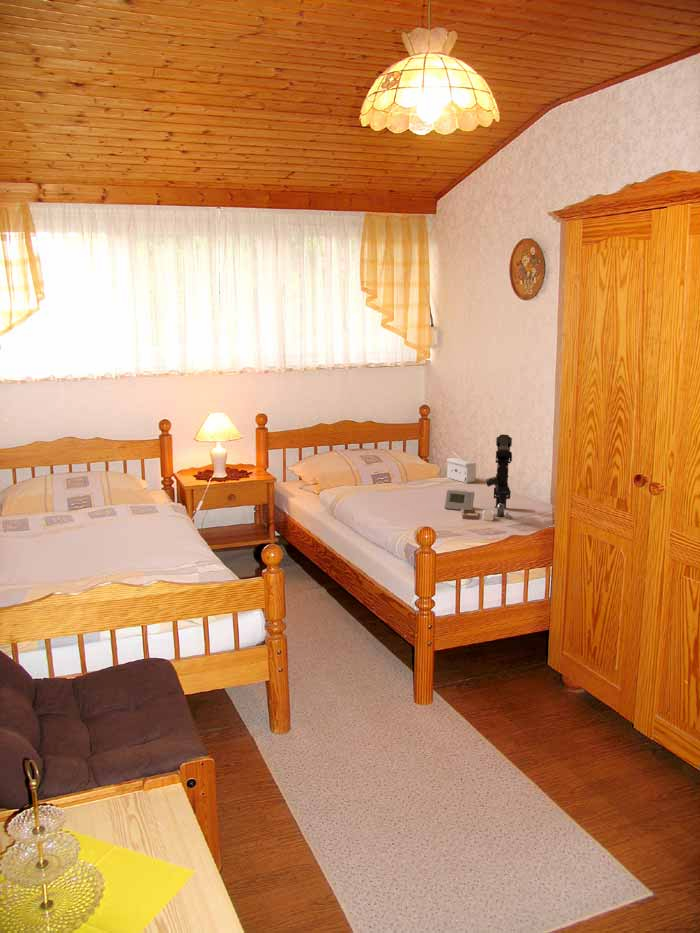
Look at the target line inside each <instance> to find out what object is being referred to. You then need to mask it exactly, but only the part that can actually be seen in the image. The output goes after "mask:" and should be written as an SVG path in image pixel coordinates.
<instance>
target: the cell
mask: <svg viewBox="0 0 700 933" xmlns="http://www.w3.org/2000/svg"><path fill="white" fill-rule="evenodd" d="M496 514H497V517H499V518H503V517H504V514H505V508H504V504H501V503H499V504H498V505H497V508H496Z"/></svg>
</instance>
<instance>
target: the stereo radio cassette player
mask: <svg viewBox="0 0 700 933" xmlns="http://www.w3.org/2000/svg"><path fill="white" fill-rule="evenodd" d="M450 451H451V452H452V453H453V454H454V455H455V456H456V457H449V458H446V461H447V473H446V476H447V479H450V480H453V481H454V480H455V481H458V482H461V483H465V484H468V483H472V482H473V483H474V482H475V481H476V476H477V462H473V461H470V460H466V459H461V458H460V456H458V454H456V453H455V452H454V451H453V449H450Z"/></svg>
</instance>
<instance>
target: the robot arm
mask: <svg viewBox="0 0 700 933" xmlns="http://www.w3.org/2000/svg"><path fill="white" fill-rule="evenodd" d="M495 440H496V442H495V446H496V449H497V450H496V451H495V464H497V467H496V468H497V469H496V474H495V476H492V477H490V478H486V479H485V482H486V485H487V487H491V486H494V487H493V499H495V506H494V508H495V509H497V505H498V504H499V503H501V504H504V509H507V508H508V507H507V500H510V499H511V493H512V492H511V490H510V486H509V483H508V482H509V464H511V462H512V461H513V453H512V451H510V450H511V447H512V444H513V442H512V441H513V438H512V437H510V435H509V434H503V433H502V434H499V436H497V437H496V439H495Z"/></svg>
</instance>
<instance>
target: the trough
mask: <svg viewBox="0 0 700 933" xmlns="http://www.w3.org/2000/svg"><path fill="white" fill-rule="evenodd" d="M461 519H462V521H463V520H479V513H478V509H461Z"/></svg>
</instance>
